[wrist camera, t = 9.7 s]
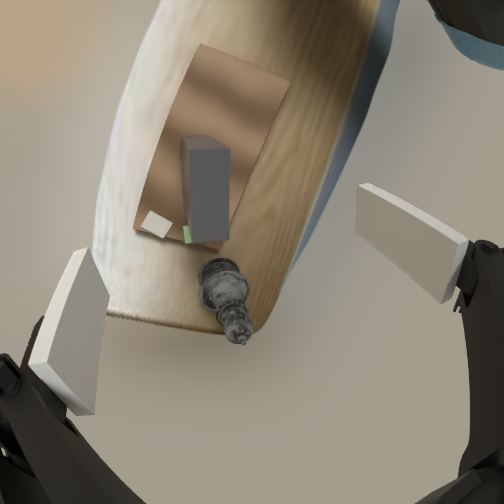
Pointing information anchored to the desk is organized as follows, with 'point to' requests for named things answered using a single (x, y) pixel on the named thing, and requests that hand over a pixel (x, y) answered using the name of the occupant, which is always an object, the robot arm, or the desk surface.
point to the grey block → (206, 187)
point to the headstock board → (211, 130)
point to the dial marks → (162, 226)
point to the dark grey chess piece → (227, 298)
